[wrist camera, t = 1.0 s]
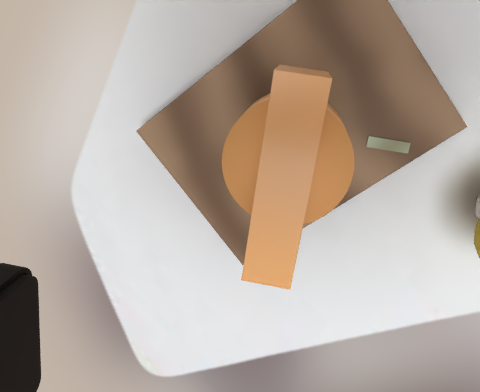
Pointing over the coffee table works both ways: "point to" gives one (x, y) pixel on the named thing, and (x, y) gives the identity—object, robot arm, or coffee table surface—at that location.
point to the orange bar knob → (286, 169)
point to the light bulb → (477, 227)
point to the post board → (340, 98)
